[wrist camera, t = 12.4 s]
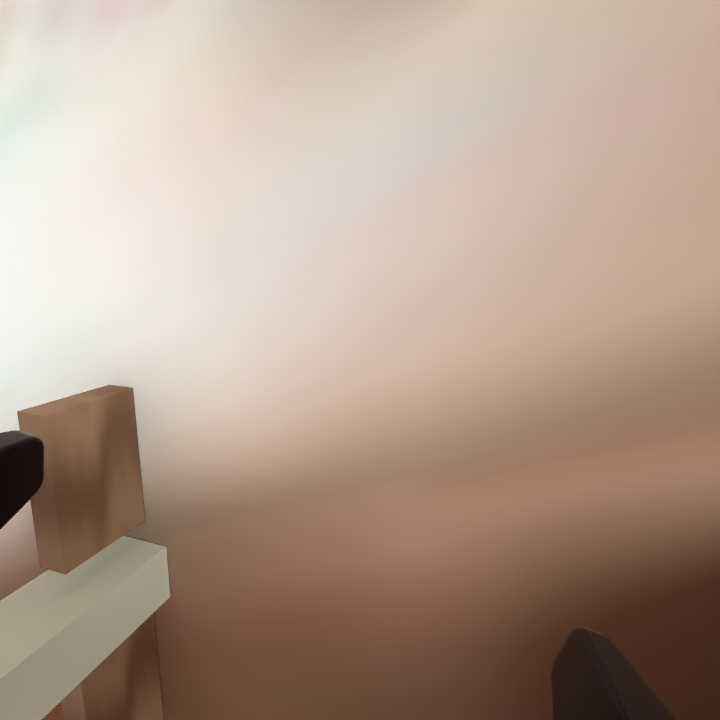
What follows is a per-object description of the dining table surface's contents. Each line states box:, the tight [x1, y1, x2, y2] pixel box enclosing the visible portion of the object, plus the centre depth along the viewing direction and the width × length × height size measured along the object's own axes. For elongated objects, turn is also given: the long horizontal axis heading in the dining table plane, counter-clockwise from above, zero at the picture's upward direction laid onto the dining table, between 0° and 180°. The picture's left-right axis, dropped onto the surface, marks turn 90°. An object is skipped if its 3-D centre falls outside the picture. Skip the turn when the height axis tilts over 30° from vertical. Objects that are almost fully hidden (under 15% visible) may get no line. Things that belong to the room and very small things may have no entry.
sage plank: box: [0, 536, 170, 720], centre depth 19 cm, size 4×3×13 cm
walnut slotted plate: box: [17, 385, 164, 720], centre depth 22 cm, size 20×2×4 cm, turn 179°
